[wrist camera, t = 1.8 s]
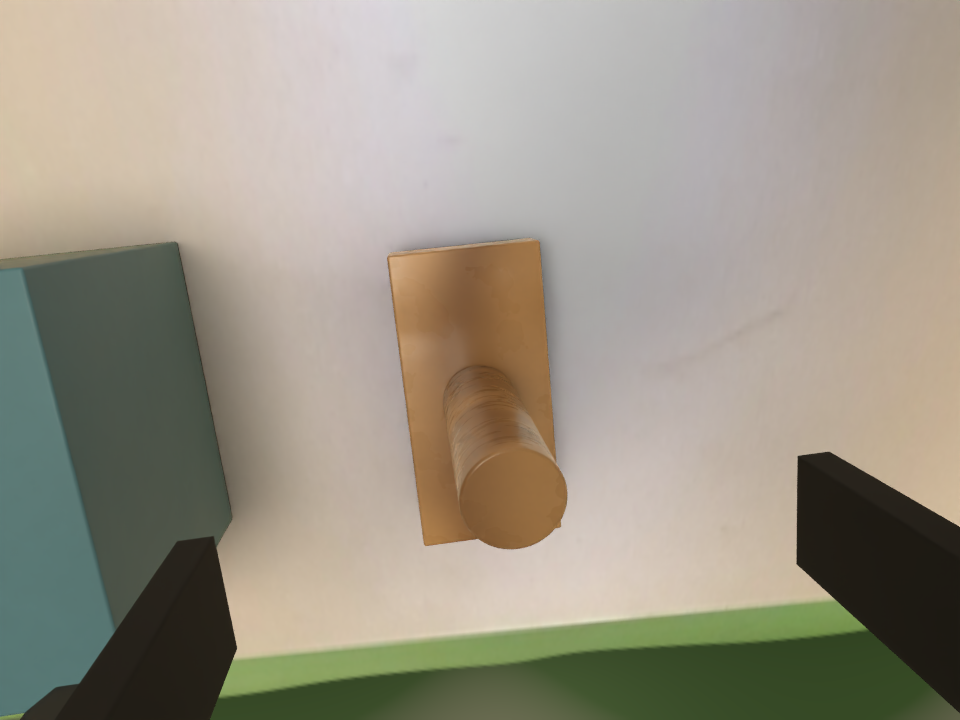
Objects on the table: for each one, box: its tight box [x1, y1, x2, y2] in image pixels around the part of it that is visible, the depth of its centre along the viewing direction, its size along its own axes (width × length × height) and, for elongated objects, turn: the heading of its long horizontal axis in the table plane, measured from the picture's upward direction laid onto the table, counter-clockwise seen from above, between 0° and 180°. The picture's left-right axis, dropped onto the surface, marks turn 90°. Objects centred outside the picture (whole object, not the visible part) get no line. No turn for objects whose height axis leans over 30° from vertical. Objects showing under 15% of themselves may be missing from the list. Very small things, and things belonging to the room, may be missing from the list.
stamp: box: [387, 238, 567, 549], centre depth 23 cm, size 6×12×12 cm, turn 6°
